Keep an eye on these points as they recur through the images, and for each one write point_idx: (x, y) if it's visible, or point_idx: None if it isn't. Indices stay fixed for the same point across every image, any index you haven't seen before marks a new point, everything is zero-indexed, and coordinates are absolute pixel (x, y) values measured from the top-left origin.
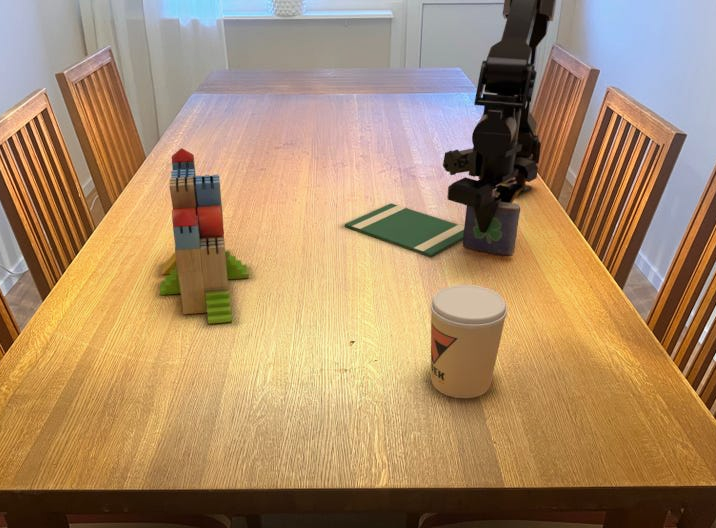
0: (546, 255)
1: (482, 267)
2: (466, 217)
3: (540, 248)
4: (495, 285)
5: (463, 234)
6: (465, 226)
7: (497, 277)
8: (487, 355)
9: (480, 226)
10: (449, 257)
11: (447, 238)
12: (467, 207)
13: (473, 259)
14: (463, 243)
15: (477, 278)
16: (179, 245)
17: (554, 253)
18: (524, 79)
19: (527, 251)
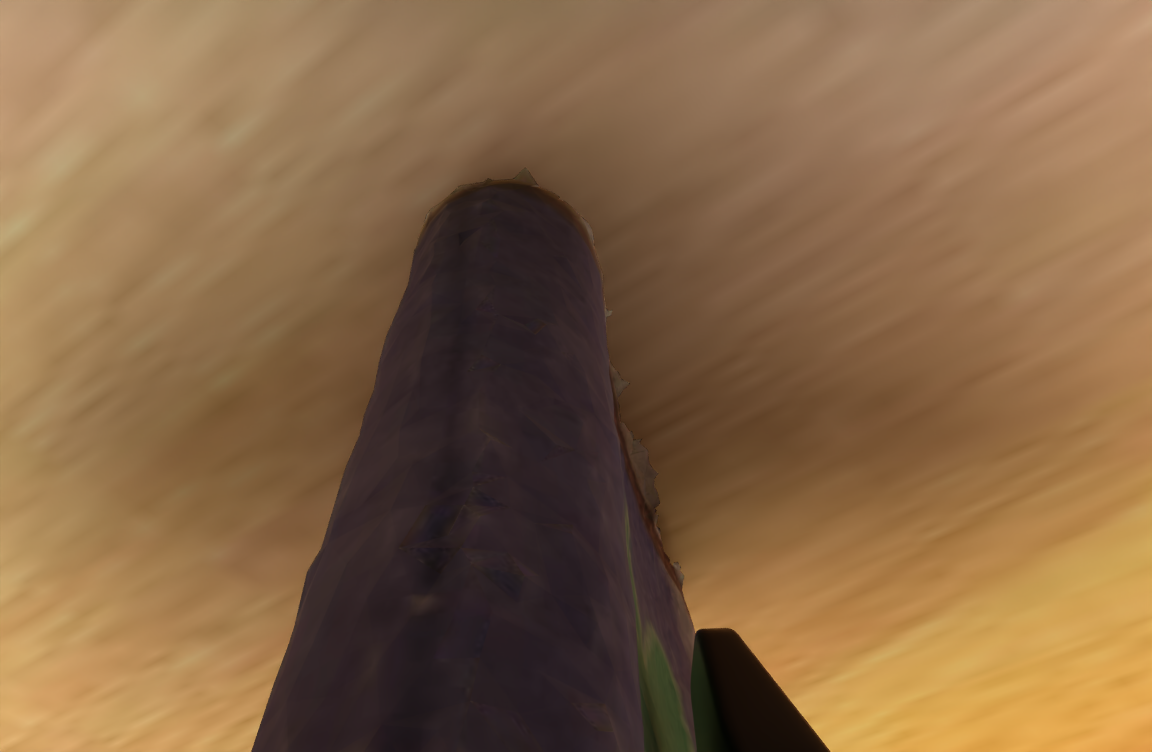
0: (895, 721)
1: (301, 527)
2: (342, 494)
3: (1010, 645)
4: (137, 726)
5: (426, 259)
6: (379, 376)
7: (257, 680)
8: None
9: None
10: (182, 162)
11: None
12: (271, 710)
13: (374, 384)
14: (424, 235)
15: (93, 601)
16: None
17: (965, 738)
18: None
19: (888, 610)
